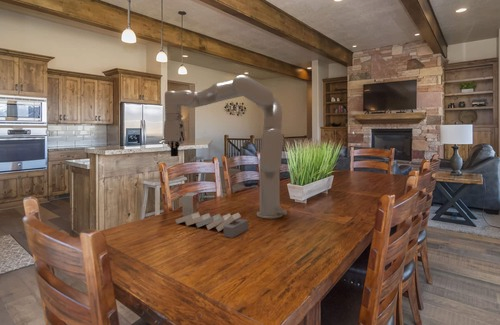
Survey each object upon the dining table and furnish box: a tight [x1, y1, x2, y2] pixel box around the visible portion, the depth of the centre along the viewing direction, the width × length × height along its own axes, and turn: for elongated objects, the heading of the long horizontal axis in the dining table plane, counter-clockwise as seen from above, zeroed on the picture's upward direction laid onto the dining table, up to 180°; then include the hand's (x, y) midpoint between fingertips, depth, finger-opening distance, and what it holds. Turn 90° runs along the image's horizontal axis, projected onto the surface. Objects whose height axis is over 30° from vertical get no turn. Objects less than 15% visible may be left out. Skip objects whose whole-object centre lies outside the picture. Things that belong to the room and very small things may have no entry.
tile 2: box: [184, 212, 211, 227], centre depth 134 cm, size 2×5×10 cm
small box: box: [181, 192, 200, 217], centre depth 151 cm, size 8×6×10 cm
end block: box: [223, 218, 249, 239], centre depth 124 cm, size 4×12×4 cm, turn 150°
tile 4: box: [205, 213, 231, 231], centre depth 129 cm, size 2×5×10 cm
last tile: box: [215, 212, 242, 233], centre depth 126 cm, size 2×5×10 cm
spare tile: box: [195, 213, 222, 229], centre depth 131 cm, size 2×5×10 cm
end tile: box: [175, 211, 201, 225], centre depth 137 cm, size 2×5×10 cm
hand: (174, 156), depth 149 cm, fingers closed
